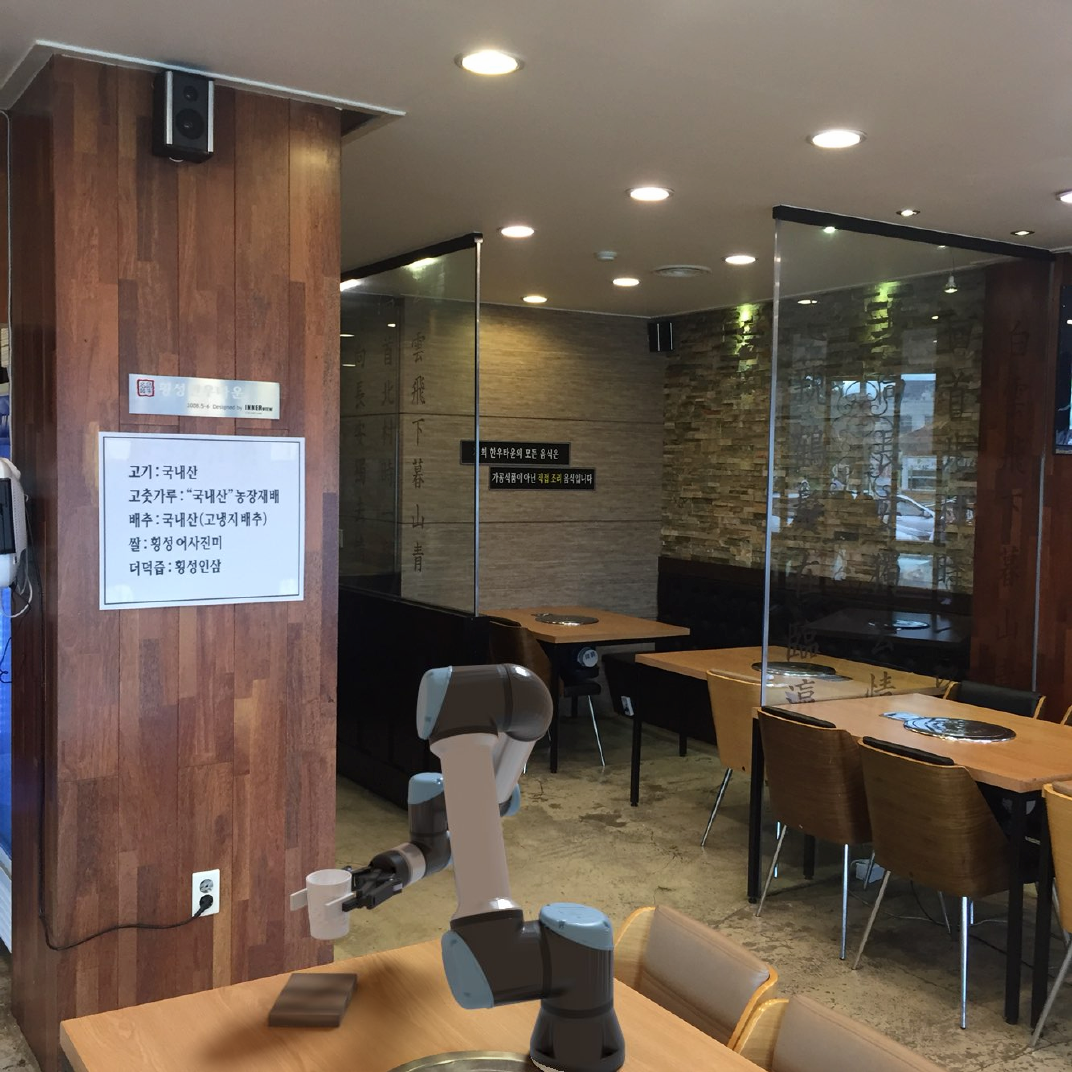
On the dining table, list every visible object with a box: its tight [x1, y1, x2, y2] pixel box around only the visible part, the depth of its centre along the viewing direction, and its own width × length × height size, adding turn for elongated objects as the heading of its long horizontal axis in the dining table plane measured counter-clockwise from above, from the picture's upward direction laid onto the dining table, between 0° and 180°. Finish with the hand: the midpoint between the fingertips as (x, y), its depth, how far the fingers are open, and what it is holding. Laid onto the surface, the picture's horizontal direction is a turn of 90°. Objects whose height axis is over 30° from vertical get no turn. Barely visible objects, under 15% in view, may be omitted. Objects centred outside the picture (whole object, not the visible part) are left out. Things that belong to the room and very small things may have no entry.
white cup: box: [305, 868, 352, 941], centre depth 193 cm, size 8×8×10 cm
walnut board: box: [267, 972, 359, 1028], centre depth 192 cm, size 16×12×2 cm
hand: (309, 907), depth 189 cm, fingers closed on white cup, 8 cm apart
